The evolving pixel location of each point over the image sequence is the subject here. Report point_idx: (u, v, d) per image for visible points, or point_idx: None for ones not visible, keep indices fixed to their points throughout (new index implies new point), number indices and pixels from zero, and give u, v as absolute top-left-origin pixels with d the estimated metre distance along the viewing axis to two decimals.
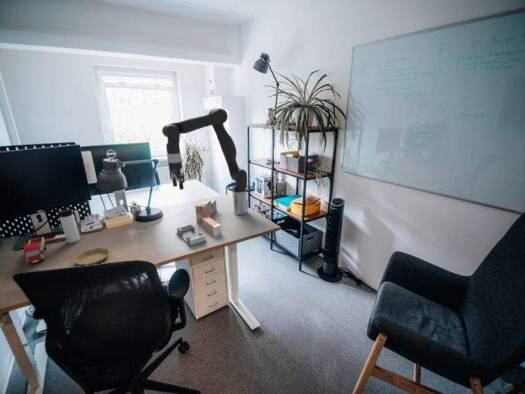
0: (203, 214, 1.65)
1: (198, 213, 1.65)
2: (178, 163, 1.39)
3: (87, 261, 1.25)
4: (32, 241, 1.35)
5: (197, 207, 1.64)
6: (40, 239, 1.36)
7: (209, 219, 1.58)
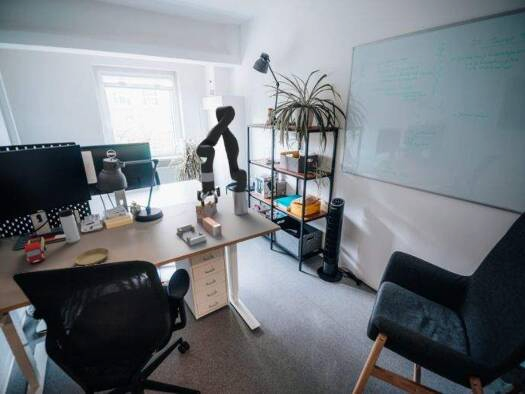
0: (203, 214, 1.65)
1: (198, 213, 1.65)
2: None
3: (87, 261, 1.25)
4: (32, 241, 1.34)
5: (197, 207, 1.64)
6: (40, 239, 1.36)
7: (209, 219, 1.58)
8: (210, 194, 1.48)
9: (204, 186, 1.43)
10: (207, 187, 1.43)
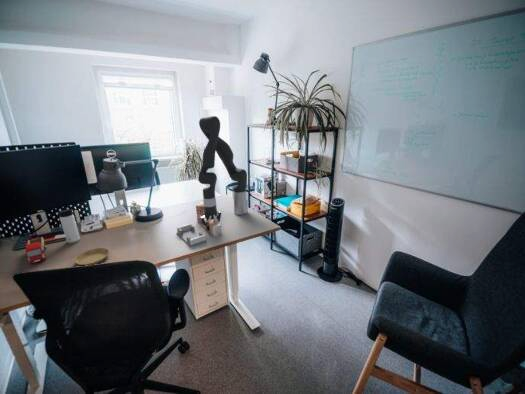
0: None
1: (199, 213, 1.66)
2: None
3: (87, 261, 1.25)
4: (31, 241, 1.34)
5: (198, 207, 1.64)
6: (39, 239, 1.36)
7: None
8: (212, 218, 1.53)
9: (206, 211, 1.48)
10: (209, 212, 1.48)
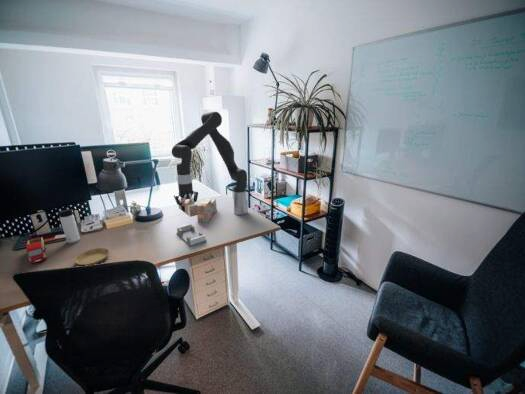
0: (204, 213, 1.66)
1: (199, 212, 1.66)
2: None
3: (87, 261, 1.25)
4: (31, 241, 1.34)
5: (198, 207, 1.65)
6: (39, 239, 1.36)
7: None
8: (188, 197, 1.39)
9: (181, 189, 1.34)
10: (184, 190, 1.34)
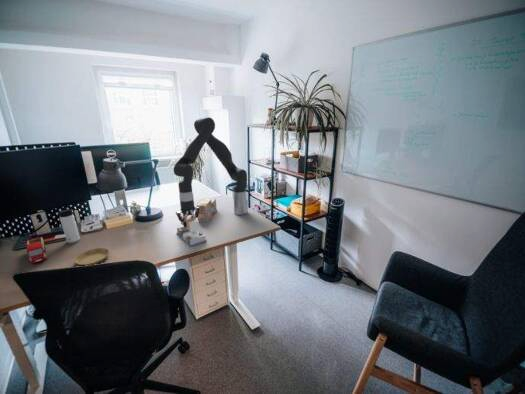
0: (204, 213, 1.66)
1: (199, 212, 1.66)
2: None
3: (87, 261, 1.25)
4: (31, 241, 1.34)
5: (198, 206, 1.65)
6: (39, 239, 1.36)
7: None
8: (189, 213, 1.42)
9: (182, 206, 1.37)
10: (186, 207, 1.37)
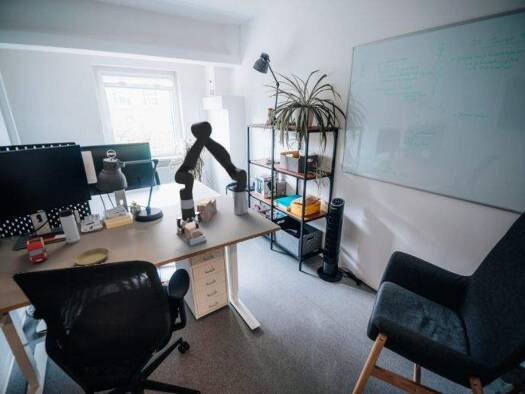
0: (204, 213, 1.66)
1: (199, 212, 1.66)
2: None
3: (87, 261, 1.25)
4: (30, 242, 1.34)
5: (198, 206, 1.65)
6: (38, 239, 1.36)
7: (188, 224, 1.49)
8: (190, 220, 1.44)
9: (183, 213, 1.39)
10: (186, 214, 1.39)
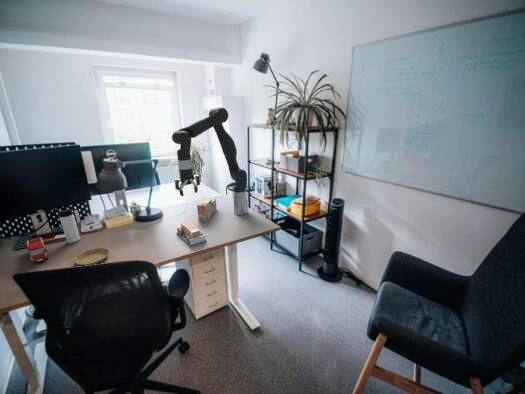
0: (205, 213, 1.67)
1: (200, 212, 1.67)
2: None
3: (87, 261, 1.25)
4: (30, 242, 1.34)
5: (199, 206, 1.65)
6: (38, 239, 1.36)
7: (188, 224, 1.49)
8: (189, 183, 1.42)
9: (182, 174, 1.38)
10: (185, 175, 1.38)
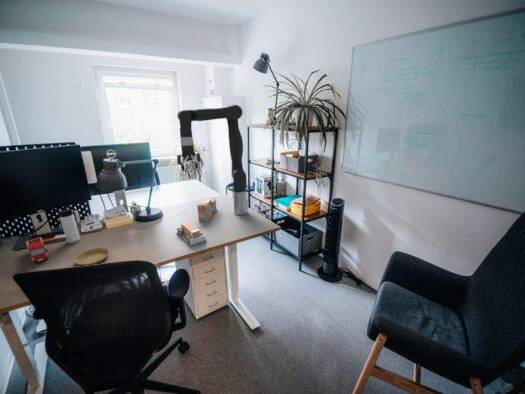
0: (205, 213, 1.67)
1: (200, 212, 1.67)
2: None
3: (87, 261, 1.25)
4: (30, 242, 1.34)
5: (199, 206, 1.66)
6: (38, 239, 1.36)
7: (188, 224, 1.49)
8: (190, 159, 1.55)
9: (183, 150, 1.50)
10: (186, 151, 1.50)
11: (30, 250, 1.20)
